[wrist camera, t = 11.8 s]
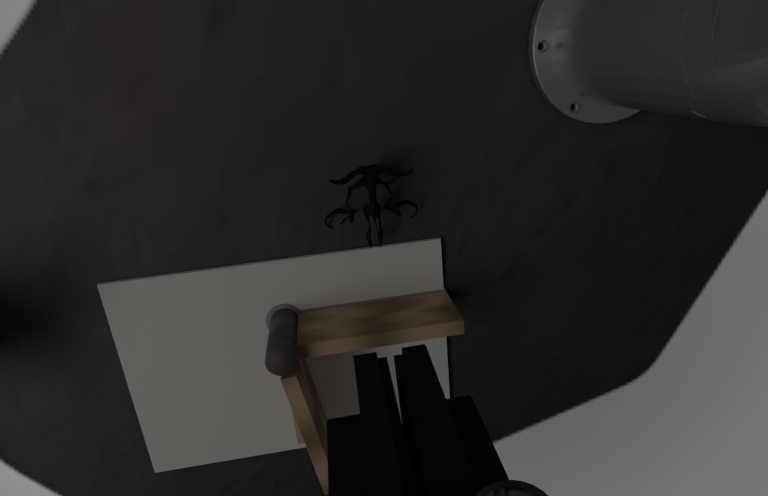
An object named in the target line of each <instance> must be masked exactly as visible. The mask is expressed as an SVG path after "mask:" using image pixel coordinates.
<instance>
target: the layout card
mask: <svg viewBox="0 0 768 496" xmlns="http://www.w3.org/2000/svg"><path fill="white" fill-rule="evenodd" d="M97 287H98V290H99V293H100V297H101V300H102V303H103V306H104V309H105V313H106V316H107V319H108V322H109V326H110V329H111V332H112V335H113V339H114V342H115V345H116V348H117V351H118V355H119V358H120V361H121V364H122V368H123V371H124V374H125V377H126V380H127V384H128V387H129V390H130V393H131V397H132V400H133V403H134V406H135V410H136V413H137V416H138V419H139V422H140V426H141V429H142V432H143V435H144V439H145V442H146V445H147V448H148V451H149V455H150V458H151V461H152V464H153V468H154V471H155V473H156V472H162V471H168V470H174V469H180V468H186V467H192V466H197V465H203V464H209V463H215V462H221V461H227V460H233V459H239V458H244V457H250V456H256V455H262V454H268V453H274V452H280V451H286V450H292V449H297V448H303V447H306V445H305V442H304V440H303V437H302V434H301V432H300V429H299V427H298V424H297V422H296V419H295V416H294V414H293V411H292V409H291V406H290V403H289V401H288V398H287V396H286V393H285V391H284V388H283V385H282V383H281V376H277V375H274V374H272V373H270V372H269V371H268V370H267V368H266V366H265V356H266V349H267V342H268V335H269V328H270V321H271V316H272V315H273V313H274V312H275V311H277V310H279V309H282V308H287V309H291V310H293V311H294V312H296V314H297V315H298V313H299V312H306V311H313V310H320V309H327V308H334V307H341V306H348V305H355V304H361V303H368V302H375V301H382V300H389V299H396V298H403V297H410V296H417V295H424V294H431V293H438V292H444V291H446V289H444V286H443V269H442V251H441V239H440V237H439V238H432V239H424V240H417V241H409V242H402V243H394V244H387V245H381V246H380V247H379V246H372V248H370V247H364V248H357V249H349V250H342V251H335V252H327V253H320V254H312V255H305V256H297V257H290V258H282V259H275V260H267V261H260V262H252V263H245V264H238V265H230V266H223V267H215V268H208V269H200V270H193V271H185V272H178V273H170V274H163V275H155V276H148V277H141V278H133V279H126V280H118V281H111V282H103V283H98V284H97ZM422 344H425V345H426V347H427V349H428V352H429V355H430V358H431V360H432V363H433V366H434V368H435V371H436V374H437V376H438V379H439V382H440V384H441V387H442V390H443V392H444V395H445V398H446V399H450V392H449V374H448V357H447V339H446V337H440V338H434V339H427V340H421V341H414V342H408V343H401V344H395V345H388V346H382V347H375V348H369V349H362V350H356V351H349V352H343V353H336V354H329V355H323V356H316V357H310V358H305V359H306V362H307V365H308V368H309V371H310V373H311V376H312V379H313V382H314V384H315V387H316V390H317V393H318V396H319V398H320V401H321V404H322V407H323V409H324V412H325V415H326V418H327V419H333V418H338V417H344V416H350V415H356V414H360V409H359V401H358V392H357V384H356V375H355V367H354V358H353V356H354V355H360V354H366V353H373V352H377V357H378V358H381V357H387V360H388V365H389V369H390V374H391V378H392V382H393V387H394V391H395V395H396V400H397V404H398V409H399V413H400V417H401V412H400V404H399V396H398V388H397V380H396V372H395V363H394V355H400V354H402V348H403V347H410V346H416V345H422ZM401 422H402V420H401Z"/></svg>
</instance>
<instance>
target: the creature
mask: <svg viewBox="0 0 768 496" xmlns="http://www.w3.org/2000/svg"><path fill="white" fill-rule="evenodd" d="M412 171H413V169H411V170H410V171H407V172H397V171H395V170H392V169H389V168H385V167H380V166H378V165H370V166H361V167H359V168H357V169H356V170H354V171H352V172H350V173H349V174H348V175H347V176H346V177H344V178H343V179H341V180H336V181H334V180H331V179H330V182H331V183H333V184H346V183H347V182H349V181H350V180H351V179H352V178H353V177H354V176H356V175H358V174H362V175H363V176H362V178H361V179H360V180H359V181H358V182H357V183H356V184H355V185H354V186H352V187H348V197H349V195H350V191H352V190H353V188H355V187H357V186H365V187H366V188H367V190H368V193H369V199H370V200H369V204H366V205H365V206H364V208H363V212H364V215H365V217H366V220H367V221H368V223H369V215H370V216H372V217H373V219H374V221H375V222H376V218H375V215H376V216H377V218H378V220H379V231H377V234H378V237H379V247H380V246H381V244H382V228H381V224H380V210H381V207H380V205H379V204H378V203H377V201H376V184H378V183H382V184H384V185H385V186H386V188H387V190H388V191H389V188H388V184H387V182H386V183H385V182H383V181H381V180H380V179H379V178H377V177H375V176H376V175H377V174H378V173H380V172H385V173H388V174H390V175H392V176H395V177H402V176H406V175H409V174H411V173H412ZM389 192H390V191H389ZM390 193H391V192H390ZM391 195H392V193H391ZM348 197H347V199H348ZM347 199H346V202H347ZM391 199H392V197H391ZM390 201H391V200H390ZM388 204H389V203H388ZM388 204H387V205H386V206H384V207H383V208H386V209H389V210H391V211H394V210H395V211H394V212H395V213H396V215H397V216H399V215H400V216H401V214H400V213H399V207H400V206H402V205H404V204H409V205H412V206H415V208H416V213H417V210H418V207H417V205H416V204H415V203H413V202H411V201H408V200H403V201H400V202H397V203H393V206H394V210H392V209H390V208H389V207H388ZM347 205H348V204H347ZM355 212H357V210H353V209H349V210H347V209H335V210H334V211H332V212H331V213H329V214H328V215H327V216H326V218H325V224H326V226H328V227H329V228H334V227H330V226H329V225H327V219H328V218H329V217H331V216H332V215H334V214H335V213H342V214H348V213H349V216H348V217H349V218H350V222H353V220H354V213H355ZM416 213H415V214H416ZM415 214H414V215H415ZM414 215H413V216H414ZM413 216H412V217H413ZM348 217H346V218H345V219H344V220H343V221H342V222H341V223H340V224H342V223H343V222H344V221H345V220H346V219H347V218H348ZM412 217H410V218H412ZM375 225H376V223H375ZM376 229H377V225H376ZM366 235H367V240H368V244H369V246H370V248H372V241H371V229H370V225H369V230H368V232H367V233H366Z"/></svg>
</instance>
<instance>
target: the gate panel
mask: <svg viewBox="0 0 768 496" xmlns="http://www.w3.org/2000/svg"><path fill="white" fill-rule="evenodd" d="M281 383H282V385H283V388H284V391H285V393H286V396H287V398H288V401H289V403H290V406H291V409H292V411H293V414H294V416H295V419H296V422H297V424H298V427H299V429H300V432H301V434H302V437H303V440H304V442H305V445H306V447H307V450H308V452H309V455H310V458H311V460H312V463H313V465H314V468H315V470H316V473H317V476H318V478H319V481H320V483H321V486H322V488H323V491H324V494H325V495H326V494H329V493H328V451H327V418H326V415H325V412H324V409H323V407H322V404H321V401H320V398H319V396H318V393H317V390H316V387H315V384H314V382H313V379H312V376H311V373H310V371H309V368H308V365H307V362H306V359H305V358H303V359H299V356H298V364H297V367H296V369H295V370H294V371H293V372H292V373H290V374H288V375H285V376H281Z"/></svg>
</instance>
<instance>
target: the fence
mask: <svg viewBox="0 0 768 496" xmlns="http://www.w3.org/2000/svg"><path fill="white" fill-rule="evenodd" d="M460 334H464V320H463V318H462V317H461V315H460V313H459V312H458V310H457V308H456V307H455V305H454V303H453V302H452V300H451V298H450V297H449V295H448V293H447V292H446V291H444V292H438V293H431V294H424V295H417V296H410V297H403V298H396V299H389V300H382V301H375V302H368V303H361V304H355V305H348V306H341V307H334V308H327V309H320V310H313V311H306V312H299V313H298V315H297V314H296V312H294V311H293V310H291V309H287V308H282V309H279V310H277V311H275V312H274V313H273V315H272V316H271V321H270V328H269V335H268V342H267V349H266V356H265V366H266V368H267V370H268V371H269V372H270V373H272V374H274V375H277V376H285V375H288V374H290V373H292V372H293V371H294V370H295V369H296V367H297V364H298V356H299V359H303V358H310V357H316V356H323V355H329V354H336V353H343V352H349V351H356V350H362V349H369V348H375V347H382V346H388V345H395V344H401V343H408V342H414V341H421V340H427V339H434V338H440V337H447V336H453V335H460Z"/></svg>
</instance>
